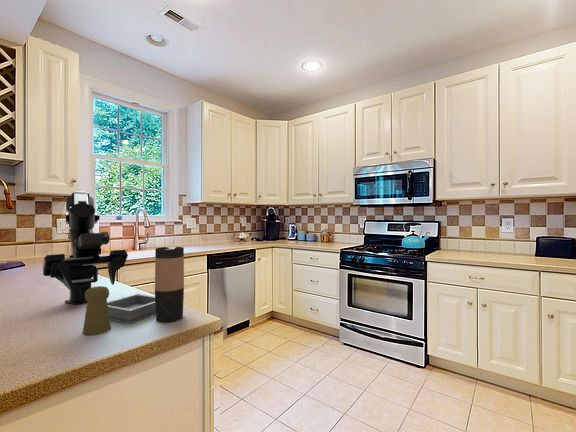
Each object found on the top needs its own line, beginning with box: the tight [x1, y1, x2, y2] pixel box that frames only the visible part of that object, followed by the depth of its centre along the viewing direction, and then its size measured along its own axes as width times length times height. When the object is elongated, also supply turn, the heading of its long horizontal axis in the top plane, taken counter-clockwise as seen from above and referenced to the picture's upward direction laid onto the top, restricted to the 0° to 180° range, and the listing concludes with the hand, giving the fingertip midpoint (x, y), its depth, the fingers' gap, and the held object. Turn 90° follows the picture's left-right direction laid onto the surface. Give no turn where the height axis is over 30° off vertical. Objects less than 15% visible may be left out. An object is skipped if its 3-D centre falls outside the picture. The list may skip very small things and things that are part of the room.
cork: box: [82, 285, 112, 336], centre depth 74 cm, size 6×6×11 cm
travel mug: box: [154, 246, 185, 324], centre depth 83 cm, size 8×8×20 cm
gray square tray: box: [107, 293, 156, 325], centre depth 87 cm, size 13×13×4 cm
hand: (93, 286), depth 76 cm, fingers open, 9 cm apart
